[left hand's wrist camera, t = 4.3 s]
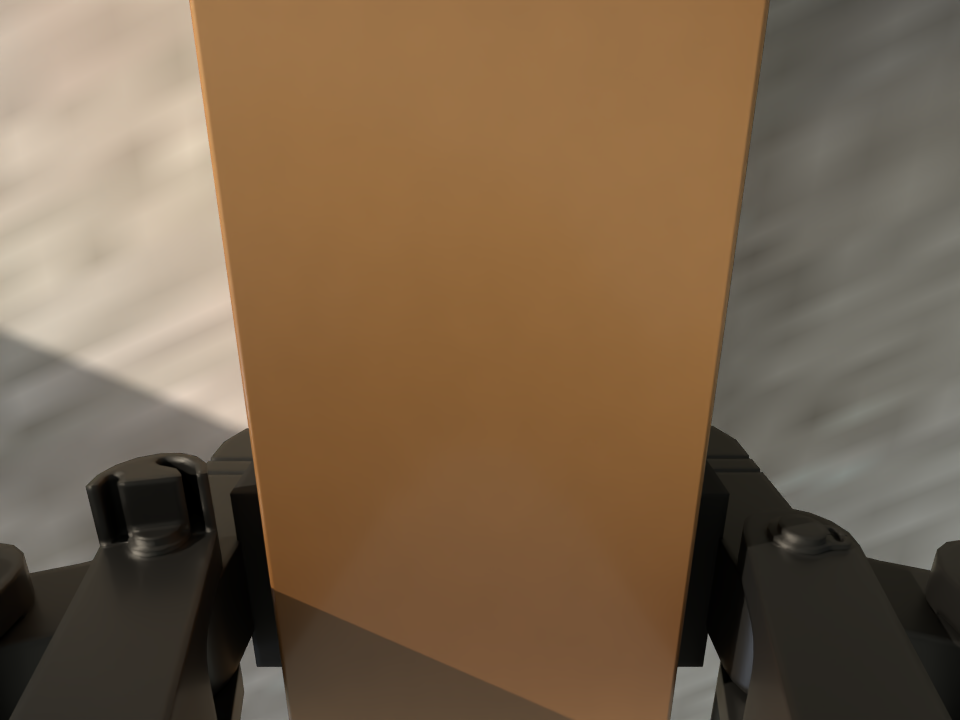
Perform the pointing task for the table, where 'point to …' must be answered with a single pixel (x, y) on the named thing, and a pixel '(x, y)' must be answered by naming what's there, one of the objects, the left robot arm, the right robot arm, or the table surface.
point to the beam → (479, 335)
